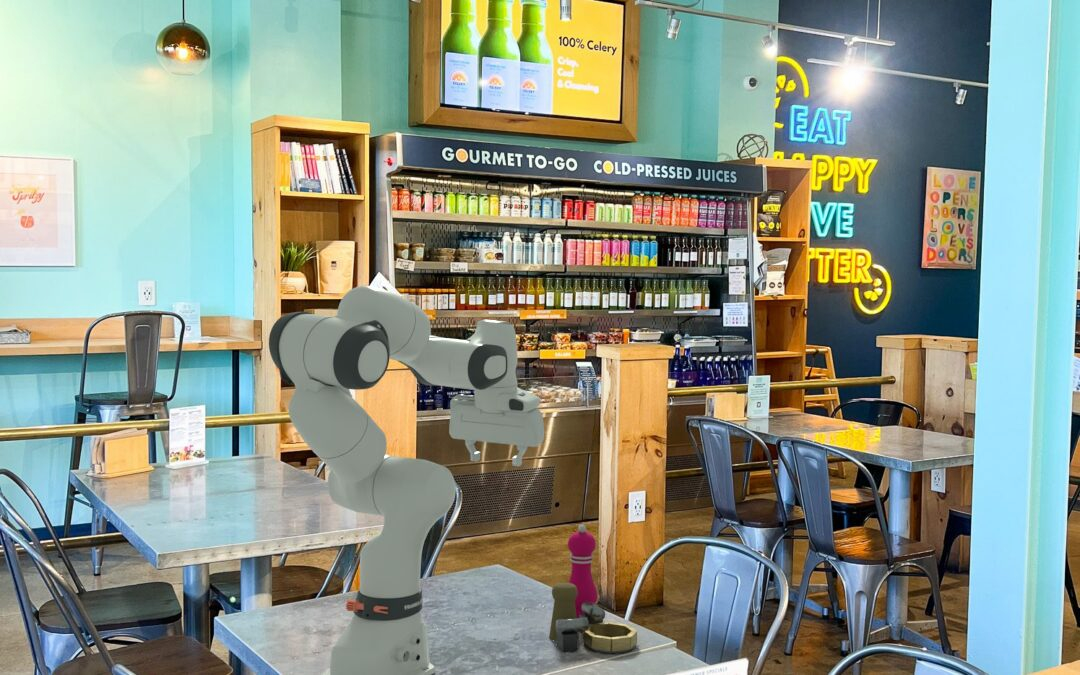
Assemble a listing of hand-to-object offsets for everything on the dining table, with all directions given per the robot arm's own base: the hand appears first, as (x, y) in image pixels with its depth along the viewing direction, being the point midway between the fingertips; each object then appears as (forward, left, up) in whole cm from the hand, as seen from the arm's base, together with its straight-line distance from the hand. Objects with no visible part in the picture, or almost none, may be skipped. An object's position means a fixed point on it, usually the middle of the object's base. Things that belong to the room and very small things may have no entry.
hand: (496, 463), depth 218 cm
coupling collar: (-1, -26, -34) cm, 43 cm away
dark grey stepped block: (-6, -20, -34) cm, 40 cm away
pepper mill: (+14, -14, -35) cm, 40 cm away
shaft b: (+5, -20, -34) cm, 40 cm away
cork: (0, -16, -35) cm, 38 cm away
